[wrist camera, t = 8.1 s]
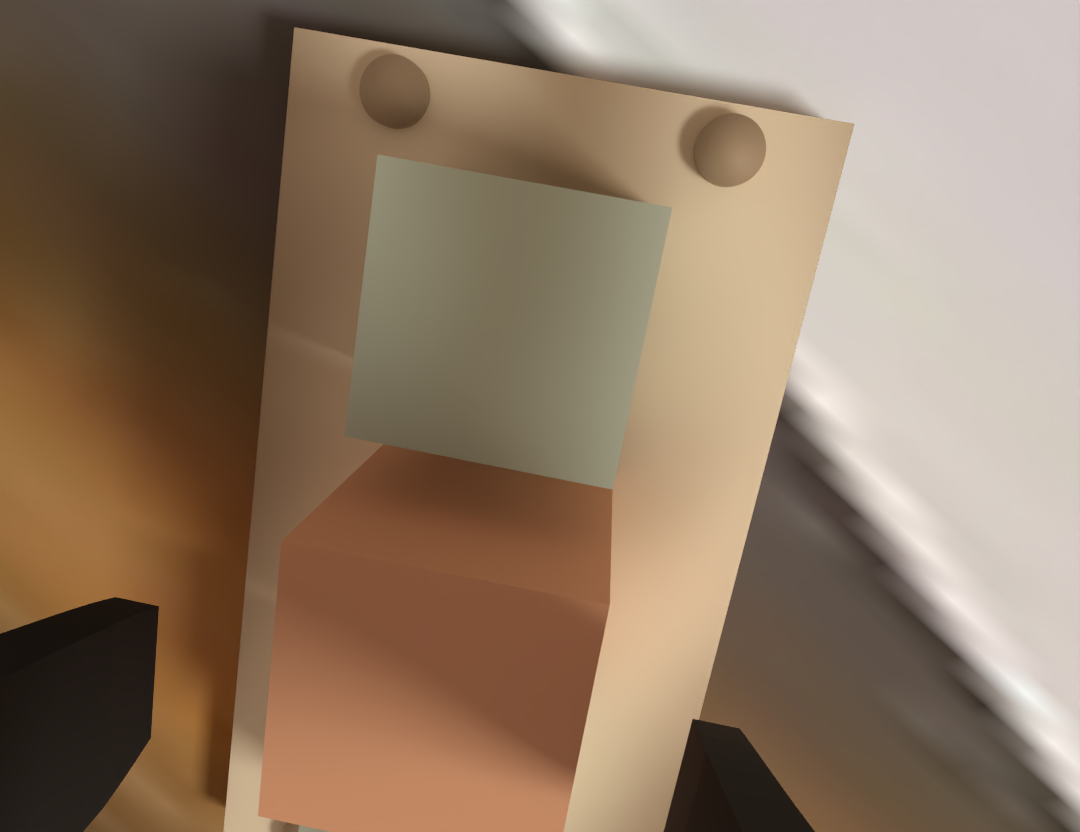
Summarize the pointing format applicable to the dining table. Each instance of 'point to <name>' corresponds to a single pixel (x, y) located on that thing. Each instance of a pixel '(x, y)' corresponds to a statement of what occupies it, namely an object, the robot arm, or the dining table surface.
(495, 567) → the terracotta block
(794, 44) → the dining table surface
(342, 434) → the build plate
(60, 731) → the robot arm
